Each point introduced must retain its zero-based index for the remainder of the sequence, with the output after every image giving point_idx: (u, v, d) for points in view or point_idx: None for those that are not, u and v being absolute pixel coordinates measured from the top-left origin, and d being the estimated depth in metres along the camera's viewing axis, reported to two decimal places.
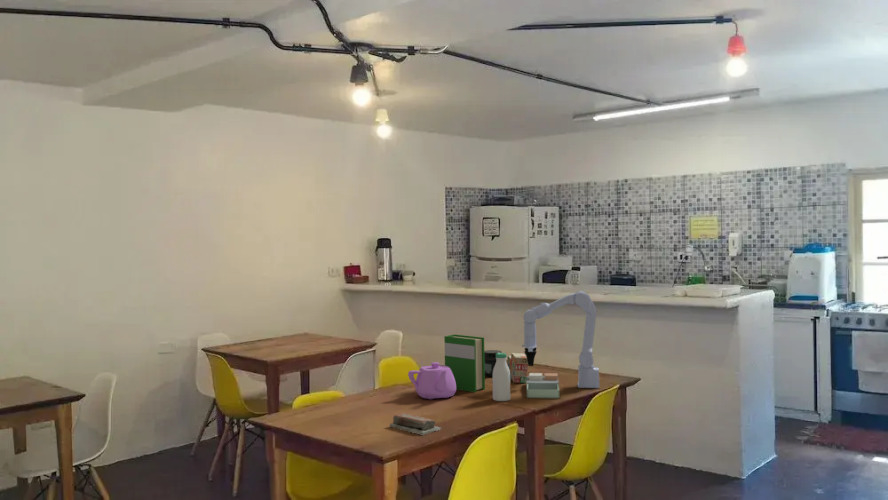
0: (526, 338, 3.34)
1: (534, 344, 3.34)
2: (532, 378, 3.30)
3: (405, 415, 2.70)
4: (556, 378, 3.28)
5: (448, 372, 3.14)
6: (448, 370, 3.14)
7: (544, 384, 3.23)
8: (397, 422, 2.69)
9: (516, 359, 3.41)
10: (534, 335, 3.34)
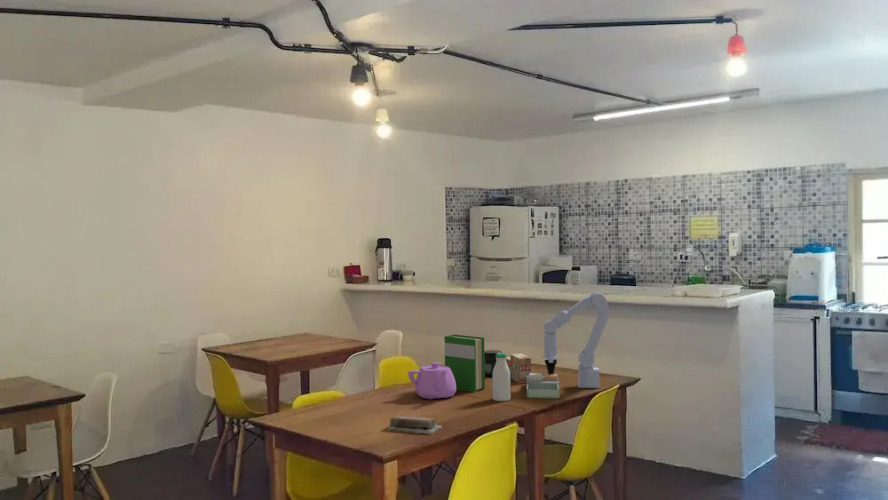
0: (546, 349, 3.32)
1: (554, 355, 3.32)
2: (532, 378, 3.30)
3: (402, 417, 2.67)
4: (556, 378, 3.27)
5: (448, 372, 3.14)
6: (448, 370, 3.14)
7: (544, 384, 3.23)
8: (395, 424, 2.66)
9: (520, 360, 3.41)
10: (555, 346, 3.32)
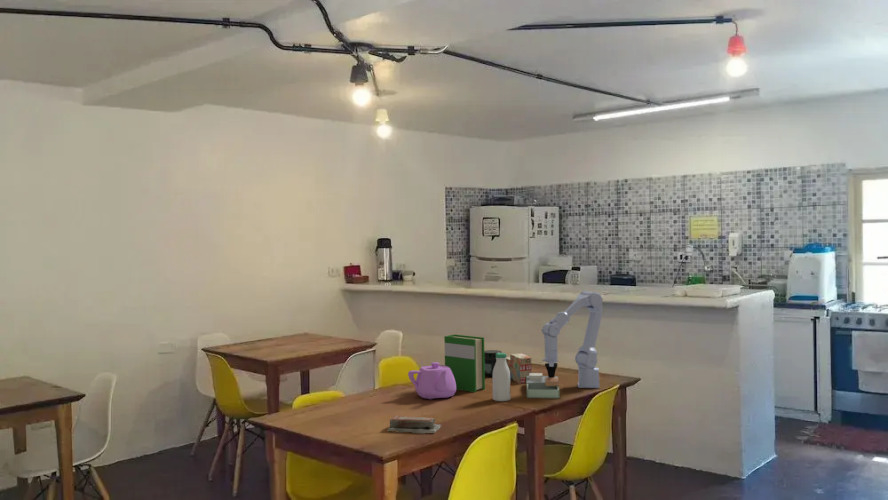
0: (547, 352, 3.23)
1: (555, 358, 3.22)
2: (532, 378, 3.30)
3: (401, 417, 2.66)
4: (557, 384, 3.18)
5: (448, 372, 3.14)
6: (448, 370, 3.14)
7: (544, 384, 3.23)
8: (395, 425, 2.64)
9: (520, 360, 3.41)
10: None
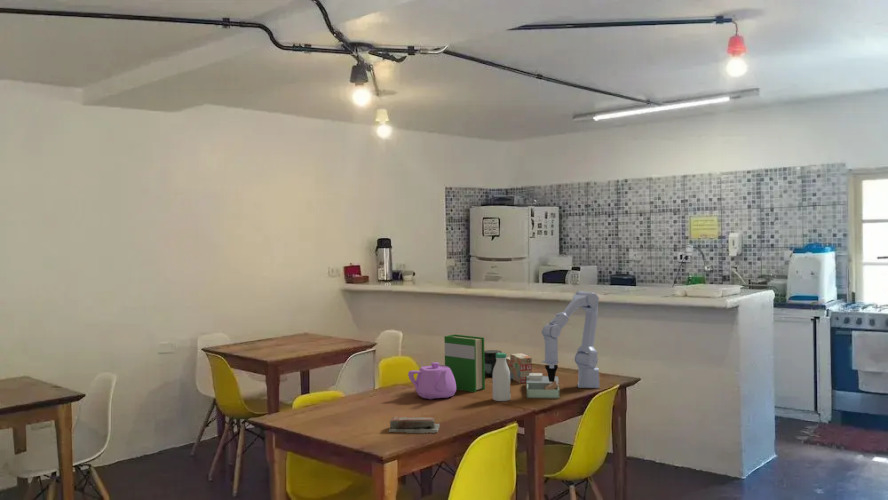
0: (547, 354, 3.19)
1: (555, 360, 3.19)
2: (532, 378, 3.30)
3: (401, 418, 2.65)
4: (556, 385, 3.16)
5: (448, 372, 3.13)
6: (448, 370, 3.14)
7: (544, 384, 3.23)
8: (396, 426, 2.63)
9: (520, 360, 3.42)
10: (557, 350, 3.20)
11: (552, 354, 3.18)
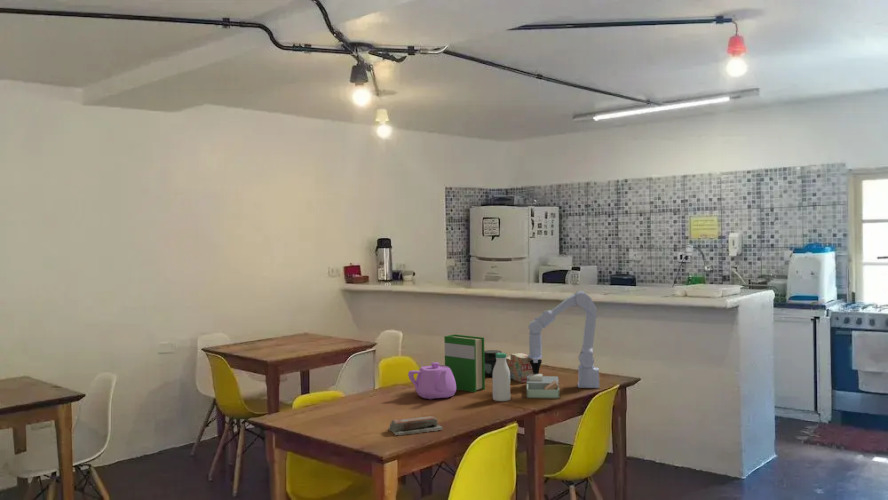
0: (531, 349, 3.32)
1: (539, 355, 3.32)
2: (532, 379, 3.28)
3: (403, 420, 2.63)
4: (556, 385, 3.16)
5: (448, 372, 3.13)
6: (448, 370, 3.14)
7: (544, 384, 3.23)
8: (401, 429, 2.60)
9: (522, 360, 3.42)
10: (540, 346, 3.32)
11: (536, 349, 3.32)
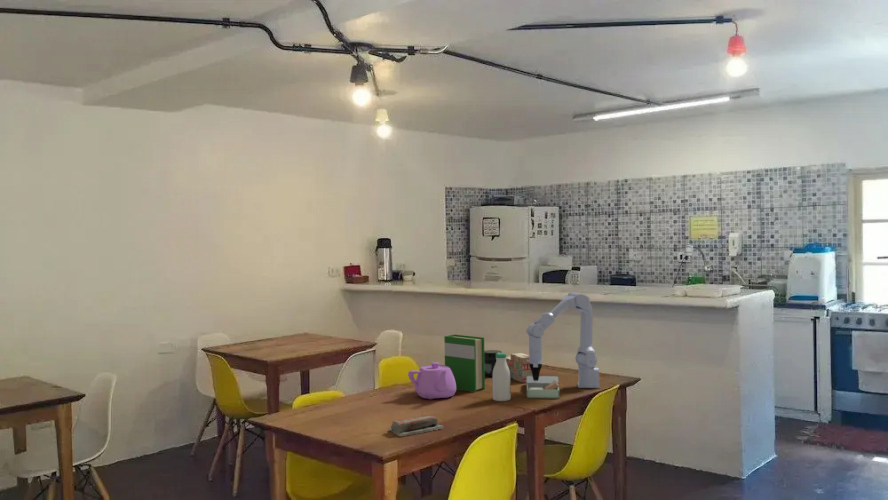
0: (531, 353, 3.22)
1: (539, 359, 3.21)
2: None
3: (405, 421, 2.62)
4: (556, 385, 3.16)
5: (448, 372, 3.14)
6: (448, 370, 3.14)
7: (544, 384, 3.23)
8: (404, 430, 2.59)
9: (522, 359, 3.43)
10: (541, 349, 3.22)
11: (536, 353, 3.21)
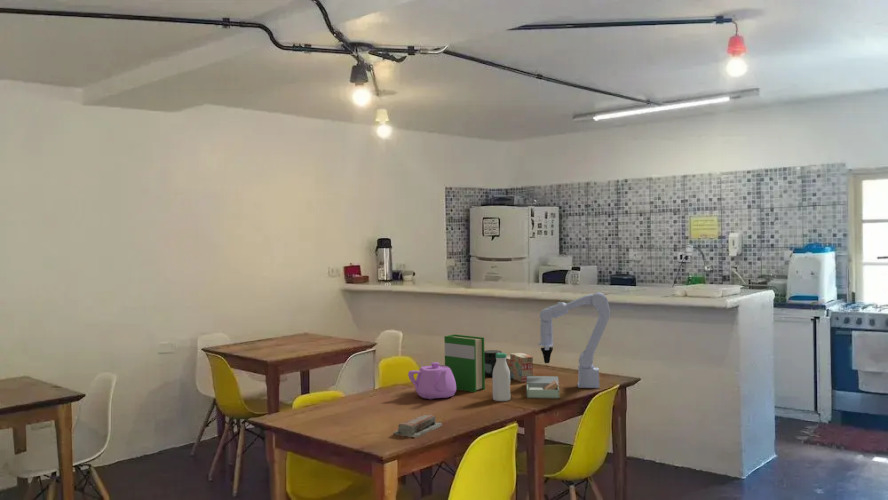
0: (542, 336, 3.34)
1: (550, 343, 3.34)
2: None
3: (411, 422, 2.60)
4: (556, 385, 3.16)
5: (448, 372, 3.13)
6: (448, 370, 3.14)
7: (544, 384, 3.23)
8: (415, 431, 2.57)
9: (522, 359, 3.43)
10: (550, 334, 3.34)
11: (547, 337, 3.33)
